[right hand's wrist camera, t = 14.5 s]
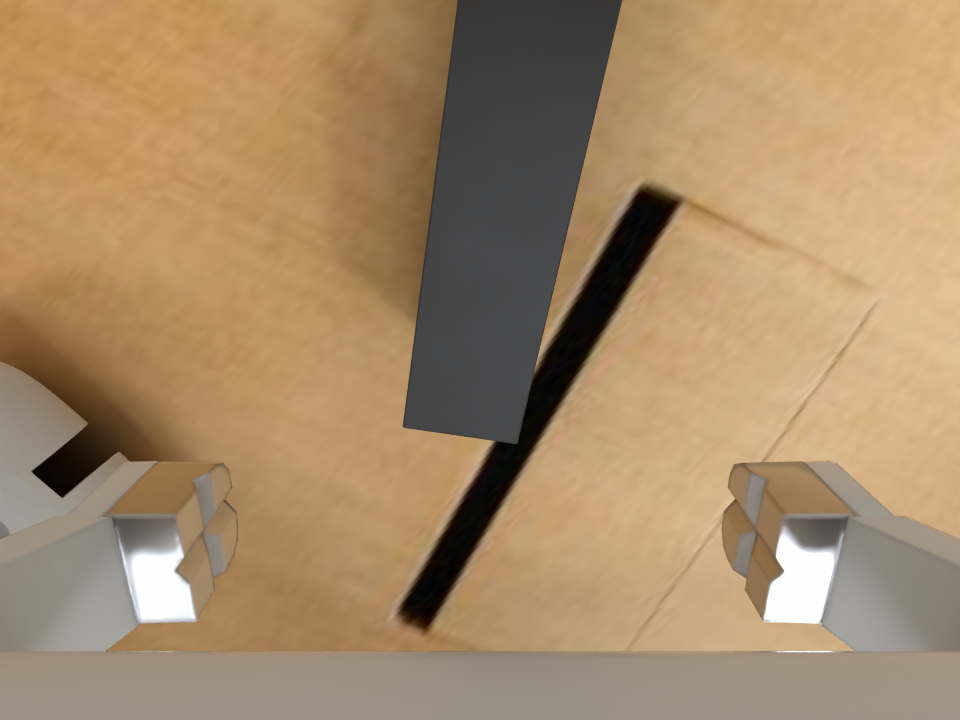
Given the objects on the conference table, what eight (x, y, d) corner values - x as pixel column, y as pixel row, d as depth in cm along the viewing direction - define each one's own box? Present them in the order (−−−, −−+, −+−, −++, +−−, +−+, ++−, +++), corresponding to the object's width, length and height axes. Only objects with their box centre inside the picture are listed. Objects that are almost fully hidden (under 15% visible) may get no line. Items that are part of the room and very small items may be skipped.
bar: (510, 345, 35) (517, 444, 27) (423, 332, 35) (402, 428, 27) (639, -263, 23) (724, -428, 15) (508, -292, 23) (519, -477, 15)
